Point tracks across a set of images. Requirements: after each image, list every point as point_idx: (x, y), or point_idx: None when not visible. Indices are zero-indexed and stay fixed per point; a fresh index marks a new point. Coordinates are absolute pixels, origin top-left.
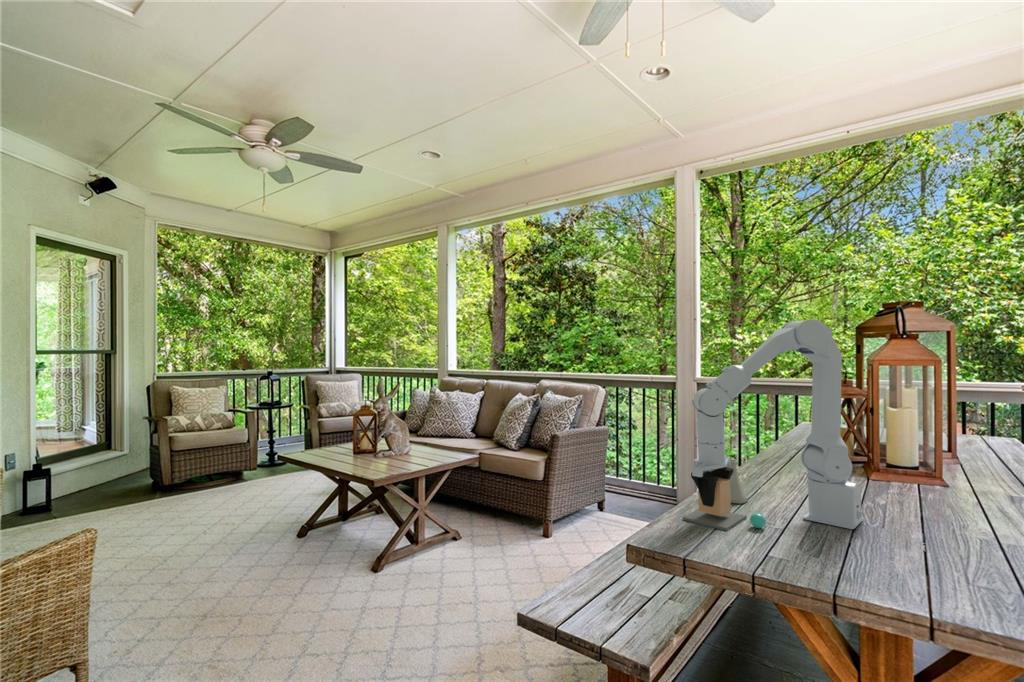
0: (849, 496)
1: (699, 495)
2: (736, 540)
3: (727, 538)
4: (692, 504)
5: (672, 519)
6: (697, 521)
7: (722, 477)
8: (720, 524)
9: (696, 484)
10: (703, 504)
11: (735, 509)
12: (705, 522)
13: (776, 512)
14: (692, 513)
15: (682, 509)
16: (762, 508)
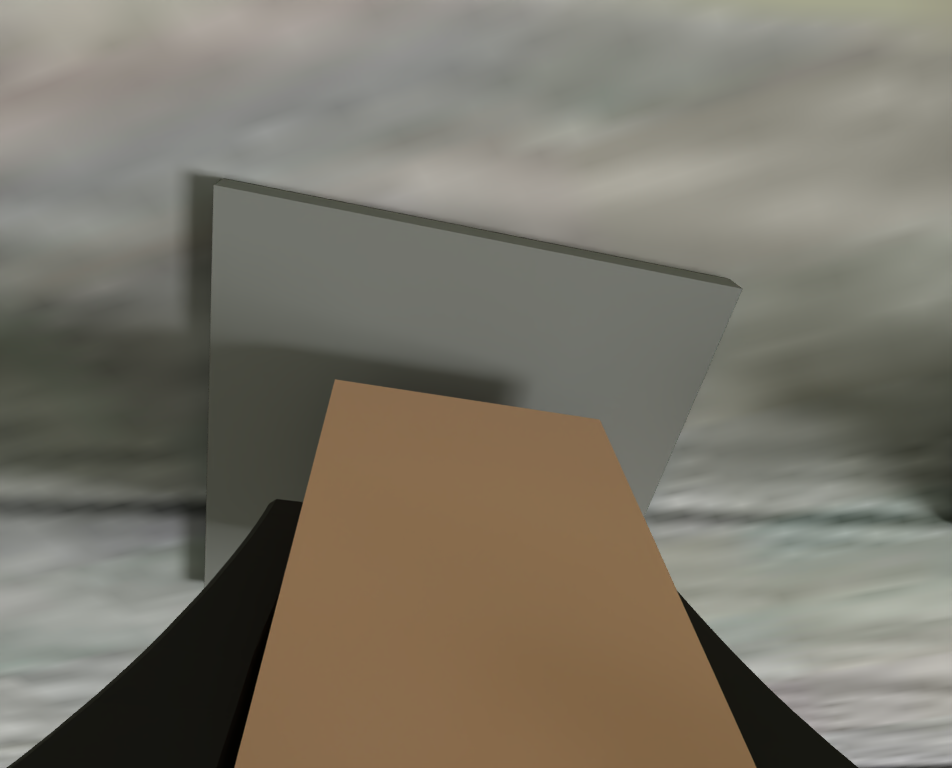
0: None
1: (299, 527)
2: (71, 663)
3: (58, 618)
4: (870, 108)
5: (149, 50)
6: (211, 364)
7: None
8: None
9: (28, 759)
10: (265, 512)
11: (799, 513)
12: (215, 442)
13: (803, 710)
14: (419, 252)
15: (619, 45)
16: (876, 641)
